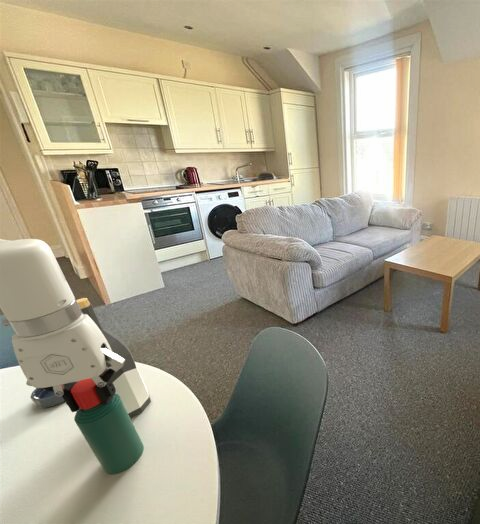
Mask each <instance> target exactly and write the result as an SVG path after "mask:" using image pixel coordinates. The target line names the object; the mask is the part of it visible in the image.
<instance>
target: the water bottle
mask: <svg viewBox="0 0 480 524" xmlns="http://www.w3.org/2000/svg"><path fill="white" fill-rule="evenodd" d="M73 418H74V420H73V421H74V422H75V424H76V426H77V427H78V429H79V431H80V432H81V434H82V436H83V437H84V440H85V441H86V442H87V444H88V446H89V448H90V449H91V451H92V452H93V454H94V456H95V458H96V459H97V461H98V463H99V465H100V466H101V468H102V469H103V471H104V473H105V474H107V475H117V474H119V473H122V472H124V471H126V470H128V469H129V468H130V467H132V466H133V465H134V464H136V462H137V461H138V460H139V459H140V458H141V457H142V455H143V452H144V448H145V447H144V443H143V441H142V440H141V437H140V435H139V433H138V431H137V430H136V429H137V428H136V427H135V425H134V423H133V421H132V419H131V418H130V417H129V415H128V413H127V411H126V409H125V407H124V404H123V402H122V400H121V398H120V396H119V395H118V394H114V396H113V397H112V399H111V400H110V402H109V404H107V405H104V404H102V402H101V403H100V404H98V405H97V406H95V407H93V408H90V409H81V408H79V410H77V411H76V412H75V415H74V417H73Z"/></svg>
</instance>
